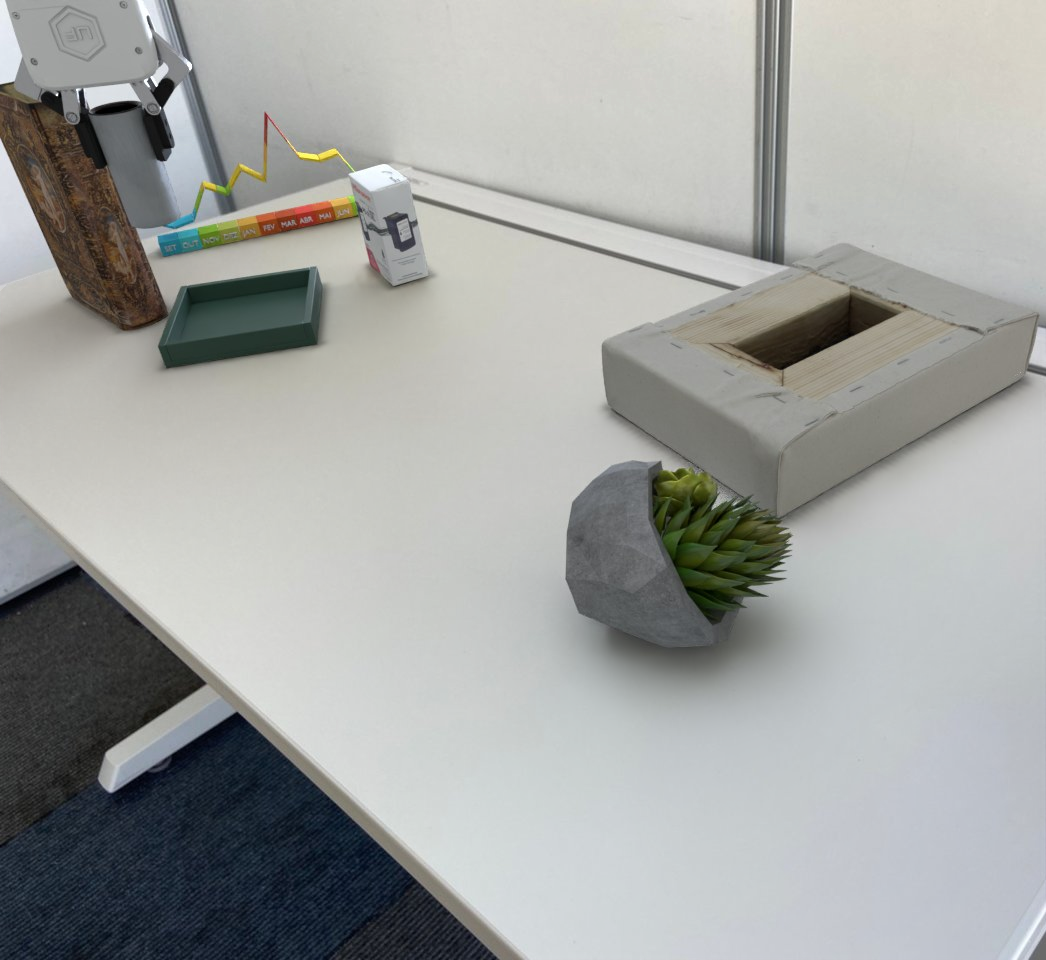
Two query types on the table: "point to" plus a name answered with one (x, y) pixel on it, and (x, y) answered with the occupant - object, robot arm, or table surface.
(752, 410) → the box
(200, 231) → the chart
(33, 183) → the book
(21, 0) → the robot arm
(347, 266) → the table surface
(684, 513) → the potted plant
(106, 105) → the gray hollow cylinder
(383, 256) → the ink box
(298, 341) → the tray
